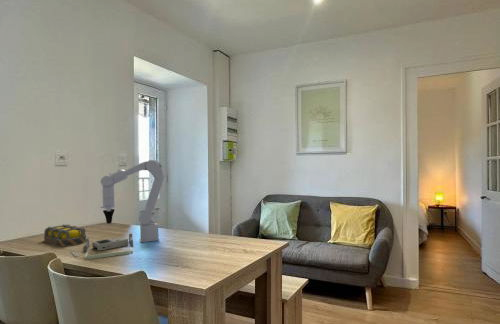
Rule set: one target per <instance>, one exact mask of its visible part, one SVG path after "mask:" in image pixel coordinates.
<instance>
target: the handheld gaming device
mask: <svg viewBox="0 0 500 324" xmlns="http://www.w3.org/2000/svg"><path fill="white" fill-rule="evenodd" d="M91 245H92V246H91V247H92V248H93V249H97V251H99V252H100V251H104V250H109V249H115V248H120V247H125V246H128V245H129V238H125V237H114V238H106V239H101V240H96V241H92V242H91Z"/></svg>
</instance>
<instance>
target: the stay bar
mask: <svg viewBox="0 0 500 324" xmlns="http://www.w3.org/2000/svg"><path fill="white" fill-rule="evenodd" d="M70 254H71V255H73V257H75V258H78V256H79V257H80V255H79V253H77V252H76V251H75V250H70Z"/></svg>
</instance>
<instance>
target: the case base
mask: <svg viewBox="0 0 500 324" xmlns="http://www.w3.org/2000/svg"><path fill="white" fill-rule="evenodd" d="M128 243H130V244H129V245H130V247H134V239H133V232H129V233H128ZM83 247H84V249H83V250H84V253H87V252H88V249H89V247H90V237H86V238H85V242H84V245H83Z"/></svg>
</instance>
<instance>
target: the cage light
mask: <svg viewBox="0 0 500 324" xmlns="http://www.w3.org/2000/svg"><path fill="white" fill-rule="evenodd" d="M43 234H44V236H43V241H44V243H46V242H47V243H46V244H50V245H53V244H54V245H53V246H56V245H58V246H57V247H68V245H70V246H75V244H76V245H80V243H81V244H83V243H84V244H85V238H87V234H86V229H85V228H84V227H83V226H76V225H70V224H62V225H61V224H60V225H56V226H48V227H46V228H45V229H44V233H43Z"/></svg>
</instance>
